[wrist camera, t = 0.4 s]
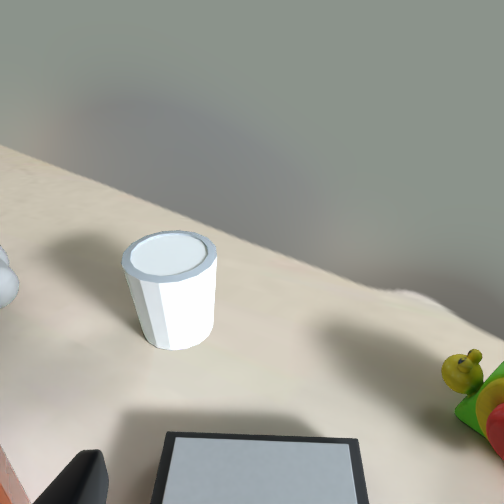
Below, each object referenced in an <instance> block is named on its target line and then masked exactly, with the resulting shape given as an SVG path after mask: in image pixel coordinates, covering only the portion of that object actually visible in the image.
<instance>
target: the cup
mask: <svg viewBox="0 0 504 504" xmlns="http://www.w3.org/2000/svg"><path fill="white" fill-rule="evenodd" d="M0 504H31V502H30V500H29V498H28V496H27V494H26V492H25V490H24V488H23V487H22V485H21V483H20V481H19V479H18V477H17V475H16V473H15V471H14V469H13V467H12V465H11V464H10V462H9V460H8V458H7V456H6V454H5V452H4V450H3V448H2V446H1V444H0Z"/></svg>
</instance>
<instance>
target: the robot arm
mask: <svg viewBox="0 0 504 504" xmlns="http://www.w3.org/2000/svg"><path fill="white" fill-rule="evenodd" d="M108 485H109V478H108V473H107V469H106V465H105V461H104V457H103V454H102V452H101V451H100V450H98V449H95V450H83V451H80V452H79V453H78V454H77V455H76V456H75V457H74V458H73V459H72V460H71V462H70V463H69V464H68V465H67V466H66V467H65V468H64V469H63V470H62V472H61V473H60V474H59V475H58V476H57V477H56V478H55V479H54V480H53V482H52V483H51V484H50V485H49V486H48V487H47V488H46V489H45V491H44V492H43V493H42V494H41V495H40V496H39V497H38V498H37V499H36V501H35V502H34V503H33V504H106V498H107V492H108Z"/></svg>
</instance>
